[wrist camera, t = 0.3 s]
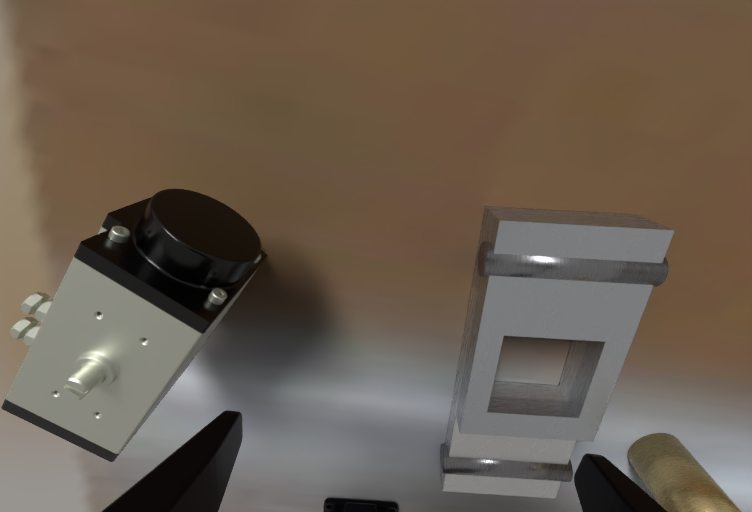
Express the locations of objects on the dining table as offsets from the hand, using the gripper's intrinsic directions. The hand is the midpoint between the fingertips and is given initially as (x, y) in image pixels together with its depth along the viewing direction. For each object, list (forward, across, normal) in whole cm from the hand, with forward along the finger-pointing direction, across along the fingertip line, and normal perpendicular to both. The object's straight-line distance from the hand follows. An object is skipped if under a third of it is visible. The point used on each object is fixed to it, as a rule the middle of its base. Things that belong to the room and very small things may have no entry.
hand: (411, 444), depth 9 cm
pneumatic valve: (+14, +11, +2) cm, 19 cm away
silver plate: (+14, -10, +8) cm, 19 cm away
